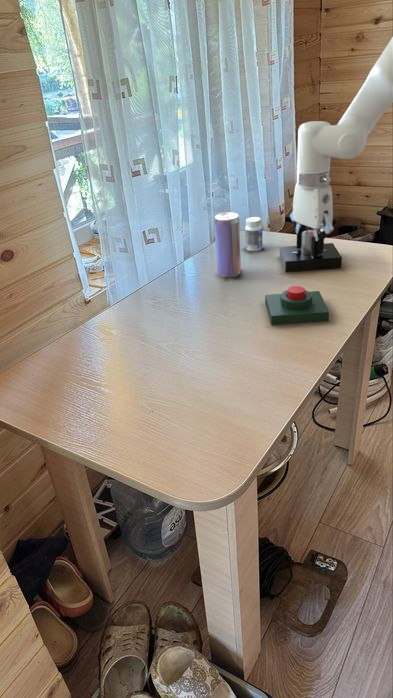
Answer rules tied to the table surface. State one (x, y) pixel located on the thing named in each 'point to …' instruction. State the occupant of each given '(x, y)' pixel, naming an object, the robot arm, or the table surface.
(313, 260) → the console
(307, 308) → the button block
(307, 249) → the knob
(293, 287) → the button
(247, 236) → the pill bottle
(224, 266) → the beverage can
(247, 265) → the table surface
